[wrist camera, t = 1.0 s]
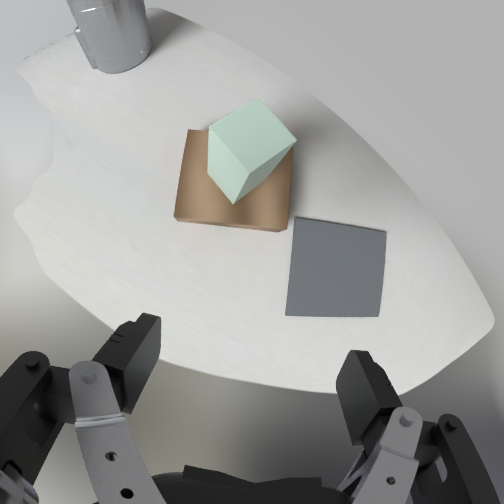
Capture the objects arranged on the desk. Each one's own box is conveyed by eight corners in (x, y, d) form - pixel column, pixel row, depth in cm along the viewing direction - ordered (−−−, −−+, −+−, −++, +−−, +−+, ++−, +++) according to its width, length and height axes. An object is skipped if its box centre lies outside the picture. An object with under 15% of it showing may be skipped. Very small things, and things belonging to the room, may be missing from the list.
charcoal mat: (285, 314, 33) (286, 315, 33) (294, 218, 33) (295, 217, 33) (376, 316, 35) (378, 316, 35) (384, 232, 36) (386, 232, 35)
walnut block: (177, 221, 31) (173, 216, 27) (190, 143, 31) (188, 129, 28) (277, 232, 33) (287, 229, 29) (283, 155, 33) (292, 144, 29)
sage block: (233, 204, 28) (249, 173, 17) (207, 173, 28) (208, 126, 17) (264, 180, 29) (297, 140, 18) (239, 150, 28) (257, 97, 18)
